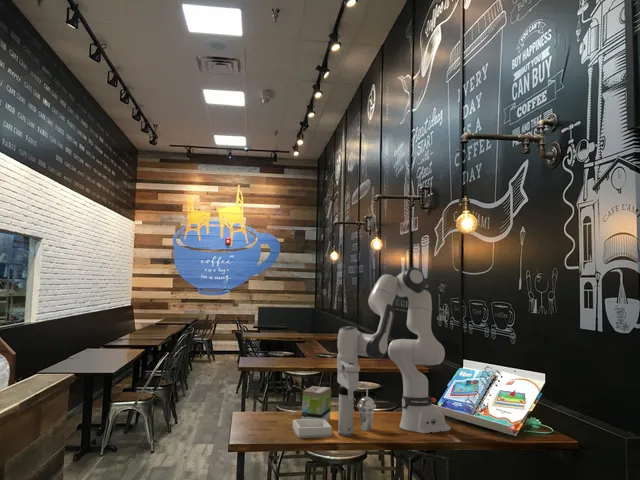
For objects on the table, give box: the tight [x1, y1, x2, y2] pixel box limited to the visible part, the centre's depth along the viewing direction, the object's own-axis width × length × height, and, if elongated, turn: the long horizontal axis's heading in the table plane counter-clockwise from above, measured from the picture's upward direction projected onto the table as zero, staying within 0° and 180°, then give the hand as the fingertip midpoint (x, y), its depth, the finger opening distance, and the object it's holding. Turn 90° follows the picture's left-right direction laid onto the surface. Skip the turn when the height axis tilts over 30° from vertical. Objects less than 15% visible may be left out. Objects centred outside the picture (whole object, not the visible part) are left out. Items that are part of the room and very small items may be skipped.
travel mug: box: [337, 386, 355, 437], centre depth 215 cm, size 6×7×20 cm
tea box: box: [300, 385, 332, 422], centre depth 236 cm, size 15×10×15 cm, turn 164°
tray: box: [292, 418, 333, 439], centre depth 215 cm, size 14×14×4 cm
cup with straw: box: [356, 381, 377, 431], centre depth 224 cm, size 8×9×20 cm
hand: (346, 397), depth 216 cm, fingers open, 8 cm apart
